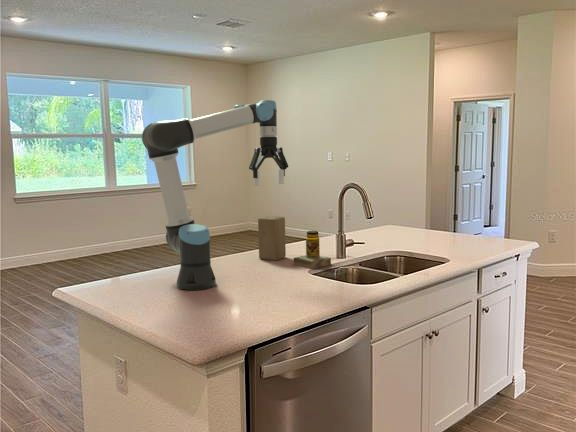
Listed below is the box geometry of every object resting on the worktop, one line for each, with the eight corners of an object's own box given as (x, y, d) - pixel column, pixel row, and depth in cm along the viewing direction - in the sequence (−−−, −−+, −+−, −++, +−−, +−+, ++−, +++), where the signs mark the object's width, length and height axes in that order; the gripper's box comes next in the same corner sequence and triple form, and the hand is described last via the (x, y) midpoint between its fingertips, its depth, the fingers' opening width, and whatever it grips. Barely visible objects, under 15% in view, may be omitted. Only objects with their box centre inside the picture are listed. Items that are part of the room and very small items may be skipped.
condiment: (310, 259, 229) (309, 233, 227) (300, 256, 236) (300, 230, 234) (324, 258, 232) (323, 231, 230) (314, 254, 239) (313, 229, 238)
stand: (311, 268, 226) (311, 261, 226) (293, 264, 235) (293, 257, 235) (330, 264, 234) (330, 257, 233) (313, 260, 243) (312, 253, 242)
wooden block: (258, 259, 247) (257, 218, 244) (268, 255, 255) (267, 215, 253) (276, 261, 242) (275, 219, 239) (286, 257, 251) (285, 216, 248)
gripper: (250, 136, 215) (251, 187, 218) (295, 136, 231) (296, 183, 233) (240, 136, 221) (241, 186, 223) (284, 136, 236) (285, 182, 239)
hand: (269, 184), depth 228 cm, fingers open, 13 cm apart
